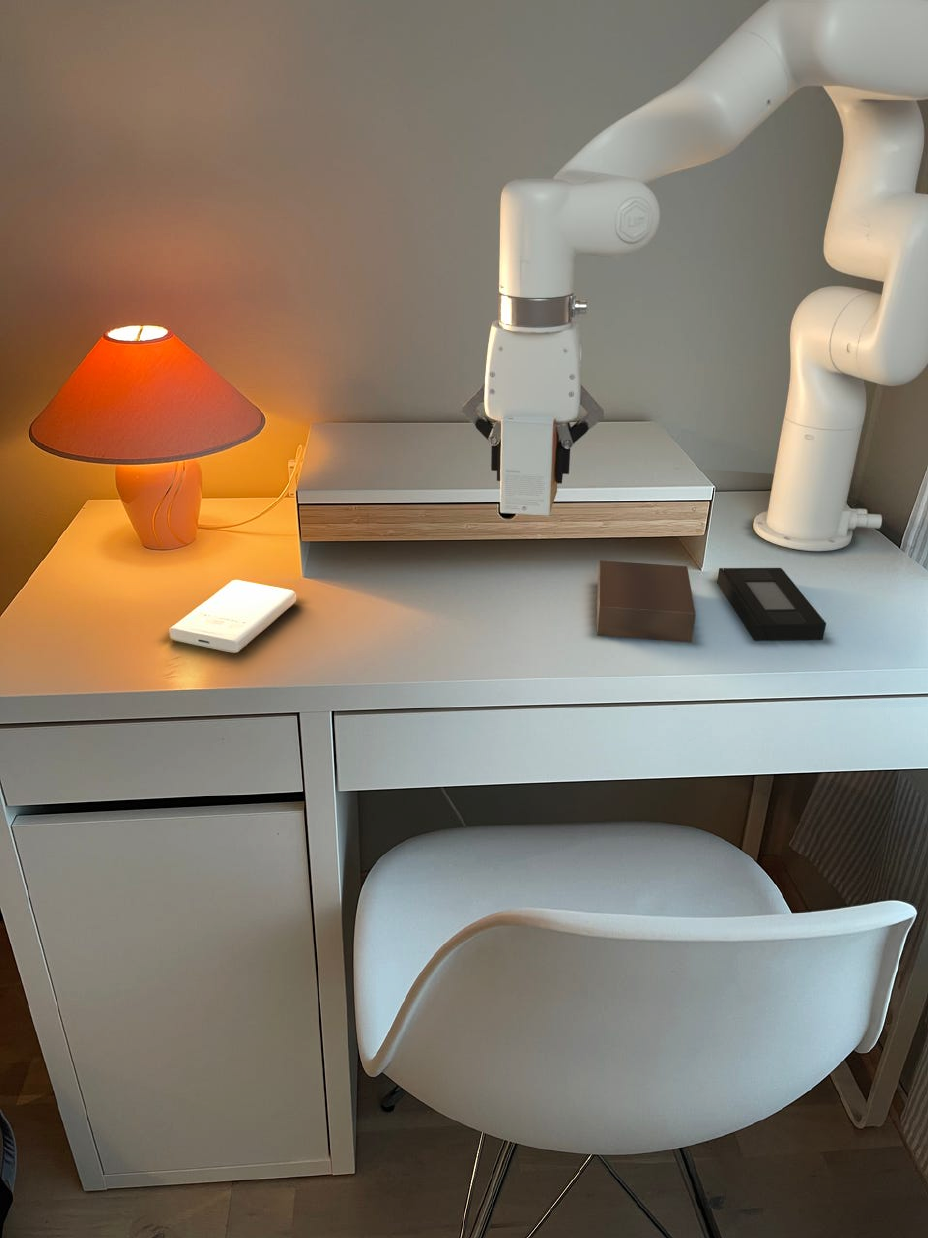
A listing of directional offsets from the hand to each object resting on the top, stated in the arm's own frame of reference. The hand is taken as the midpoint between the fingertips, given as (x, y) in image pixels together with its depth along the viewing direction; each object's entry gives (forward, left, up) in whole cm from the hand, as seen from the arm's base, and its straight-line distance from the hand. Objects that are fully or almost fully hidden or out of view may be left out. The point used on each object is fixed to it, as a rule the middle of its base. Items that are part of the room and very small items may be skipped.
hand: (530, 476), depth 110 cm
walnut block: (-14, +4, -14) cm, 20 cm away
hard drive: (+30, +13, -14) cm, 36 cm away
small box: (0, 0, -3) cm, 3 cm away
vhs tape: (-28, +1, -14) cm, 31 cm away
